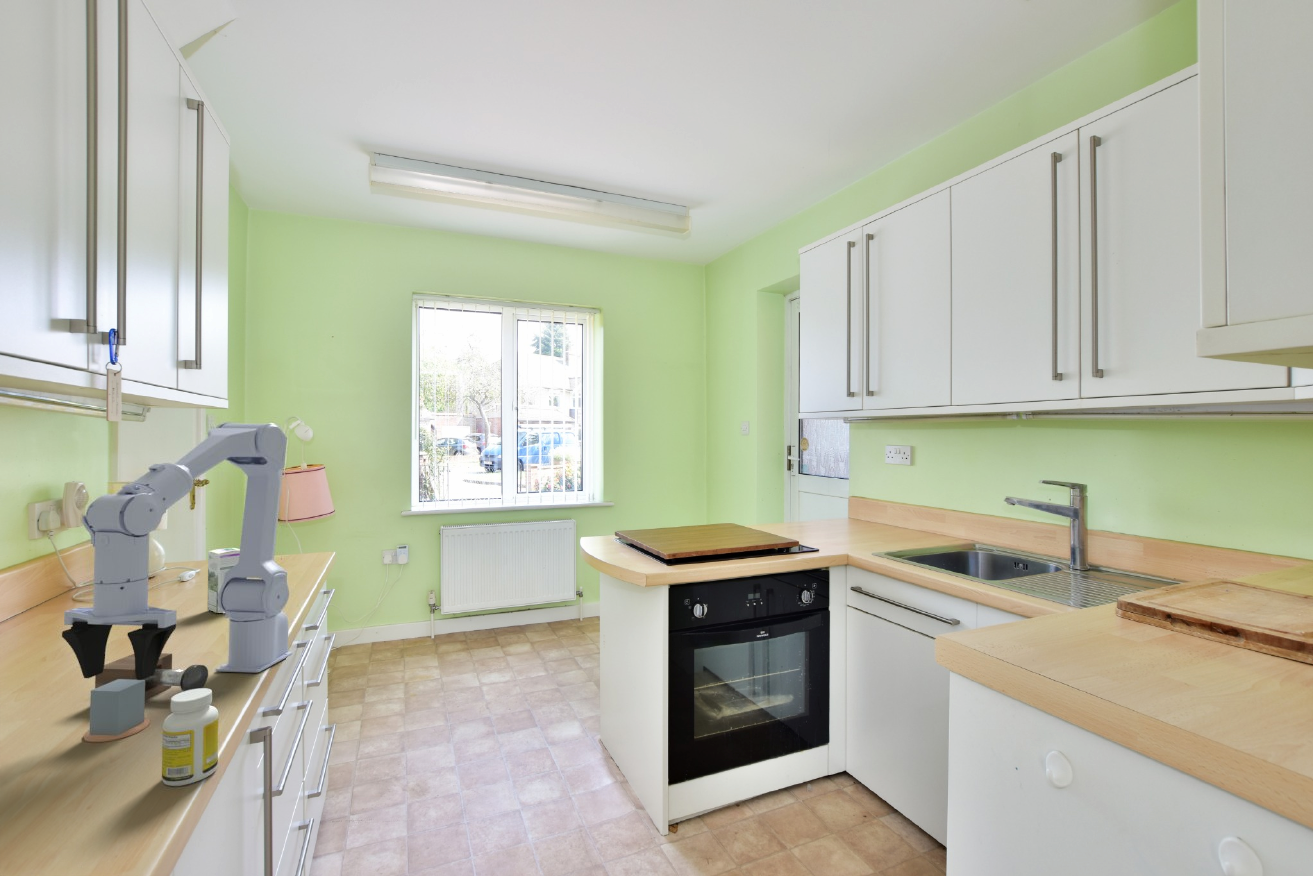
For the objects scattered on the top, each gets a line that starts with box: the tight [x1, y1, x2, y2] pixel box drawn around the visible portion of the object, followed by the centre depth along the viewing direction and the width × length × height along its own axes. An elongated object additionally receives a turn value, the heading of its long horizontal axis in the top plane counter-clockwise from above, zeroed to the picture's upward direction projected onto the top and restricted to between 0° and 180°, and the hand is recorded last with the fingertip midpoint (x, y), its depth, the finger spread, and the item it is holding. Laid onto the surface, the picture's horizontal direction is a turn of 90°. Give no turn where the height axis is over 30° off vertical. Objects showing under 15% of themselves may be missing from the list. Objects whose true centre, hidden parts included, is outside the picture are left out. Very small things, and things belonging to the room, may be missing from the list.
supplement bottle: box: [161, 687, 220, 787], centre depth 73 cm, size 5×5×10 cm
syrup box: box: [207, 547, 240, 614], centre depth 142 cm, size 6×6×14 cm
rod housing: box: [94, 652, 173, 700], centre depth 94 cm, size 7×6×6 cm
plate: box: [83, 717, 150, 743], centre depth 83 cm, size 7×7×1 cm
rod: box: [145, 664, 209, 692], centre depth 94 cm, size 4×8×4 cm, turn 88°
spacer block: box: [89, 679, 146, 736], centre depth 83 cm, size 4×4×6 cm
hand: (119, 676), depth 83 cm, fingers open, 7 cm apart
